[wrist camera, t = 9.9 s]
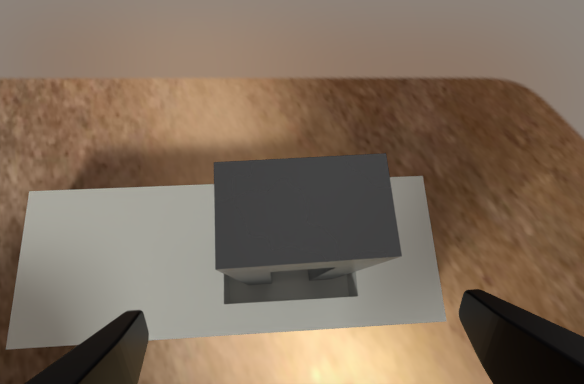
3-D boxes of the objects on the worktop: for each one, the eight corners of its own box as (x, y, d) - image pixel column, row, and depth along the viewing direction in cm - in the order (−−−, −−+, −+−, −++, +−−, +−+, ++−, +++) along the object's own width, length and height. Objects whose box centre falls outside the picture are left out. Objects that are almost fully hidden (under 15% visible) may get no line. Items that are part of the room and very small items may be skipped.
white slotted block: (423, 318, 22) (446, 321, 19) (43, 342, 21) (5, 349, 18) (404, 190, 24) (422, 175, 21) (60, 204, 23) (29, 191, 20)
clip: (332, 279, 22) (402, 256, 10) (248, 285, 21) (215, 270, 10) (327, 229, 23) (386, 153, 11) (246, 234, 22) (213, 162, 10)
